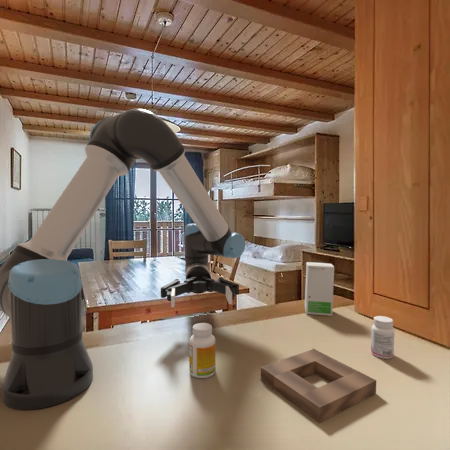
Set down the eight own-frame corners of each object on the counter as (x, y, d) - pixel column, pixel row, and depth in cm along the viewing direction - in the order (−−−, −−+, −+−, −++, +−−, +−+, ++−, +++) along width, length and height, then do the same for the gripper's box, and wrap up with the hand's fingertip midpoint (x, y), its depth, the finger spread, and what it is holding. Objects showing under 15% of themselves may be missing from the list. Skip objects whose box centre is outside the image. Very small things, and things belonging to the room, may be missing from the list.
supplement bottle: (220, 370, 68) (220, 324, 67) (205, 382, 63) (205, 333, 62) (199, 363, 71) (199, 319, 70) (184, 374, 66) (183, 327, 65)
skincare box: (305, 314, 101) (306, 265, 100) (304, 307, 108) (305, 261, 107) (333, 316, 100) (334, 266, 99) (330, 309, 106) (331, 262, 105)
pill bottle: (374, 347, 78) (375, 313, 78) (395, 353, 75) (397, 318, 75) (368, 355, 75) (369, 319, 74) (390, 361, 72) (392, 324, 71)
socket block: (319, 422, 52) (319, 407, 51) (260, 379, 64) (260, 366, 64) (375, 393, 60) (376, 380, 59) (313, 359, 72) (313, 348, 72)
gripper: (239, 288, 99) (254, 312, 78) (156, 292, 96) (148, 318, 75) (239, 264, 98) (254, 282, 77) (155, 267, 95) (147, 286, 74)
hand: (202, 300), depth 76 cm, fingers open, 13 cm apart
